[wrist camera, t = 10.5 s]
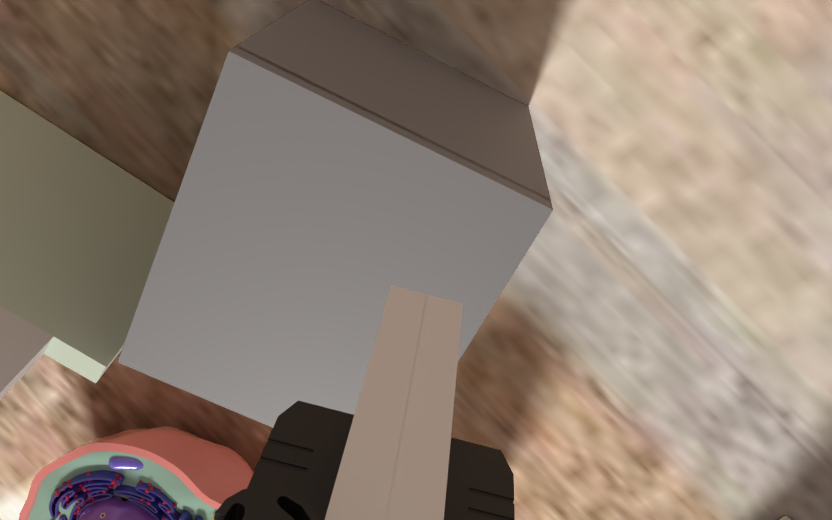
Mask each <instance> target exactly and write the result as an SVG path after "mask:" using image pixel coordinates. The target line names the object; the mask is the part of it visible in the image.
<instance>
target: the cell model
mask: <svg viewBox="0 0 832 520" xmlns="http://www.w3.org/2000/svg"><path fill="white" fill-rule="evenodd" d="M253 473H254V472H253V470H252V469H251V467H250V466H249V464H248V463H247V462H246V461H245V460H244V459H243V458H242V457H241V456H240V455H239V454H238V453H237V452H236V451H234V450H233V449H231V448H229V447H226V446H223V445H220V444H217V443H214V442H211V441H208V440H205V439H202V438H200V437H197V436H195V435H193V434H191V433H188V432H186V431H184V430H182V429H179V428H175V427H166V426H164V427H157V428H147V429H131V430H125V431H122V432H119V433H117V434H114V435H110V436H106V437H102V438H98V439H94V440H91V441H88V442H86V443H84V444H82V445H80V446H78V447H76V448H74V449H72V450H71V451H69V452H68V453H66V454H65V455H63V456H61V457H60V458H58V459H57V460H55V461H53V462H52V463H50V464H49V465H47V466H45V467H44V468H43V469H41V470H40V471H39V472H38V473H37V474H36V475H35V477H34V479H33V481H32V484H31V488H30V491H29V495H28V498H27V500H26V502H25V504H24V506H23V508H22V511H21V513H20V516H19V520H214V516H215V512H216V511H217V510H218V508H219V507H220V506H221V505H222V503H223V502H224V501H225V499H227V498H228V497H230V496H232V495H234V494H236V493H237V492H239V491H241V490H243V489H247V487H248V485H249V482H250V480H251V478H252V476H253Z"/></svg>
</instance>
